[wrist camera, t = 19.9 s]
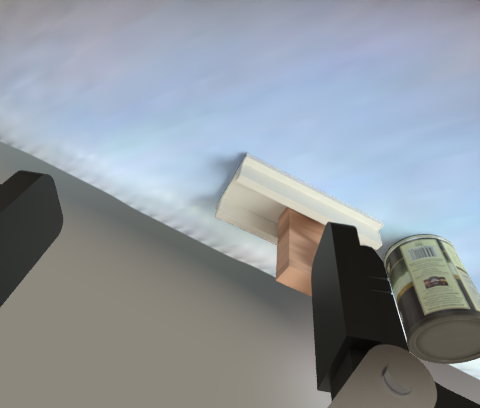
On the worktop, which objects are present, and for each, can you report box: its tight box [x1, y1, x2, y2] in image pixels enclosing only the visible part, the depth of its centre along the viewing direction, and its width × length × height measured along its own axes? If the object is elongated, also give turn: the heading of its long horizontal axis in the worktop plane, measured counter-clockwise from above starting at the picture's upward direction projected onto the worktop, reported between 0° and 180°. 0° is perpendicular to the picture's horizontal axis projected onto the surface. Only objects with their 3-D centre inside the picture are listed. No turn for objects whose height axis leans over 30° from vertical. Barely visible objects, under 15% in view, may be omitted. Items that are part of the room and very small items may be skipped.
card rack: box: [215, 153, 383, 250], centre depth 49 cm, size 22×10×4 cm, turn 63°
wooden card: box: [276, 207, 326, 296], centre depth 45 cm, size 6×3×12 cm, turn 63°
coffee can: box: [384, 234, 480, 364], centre depth 48 cm, size 10×10×14 cm
